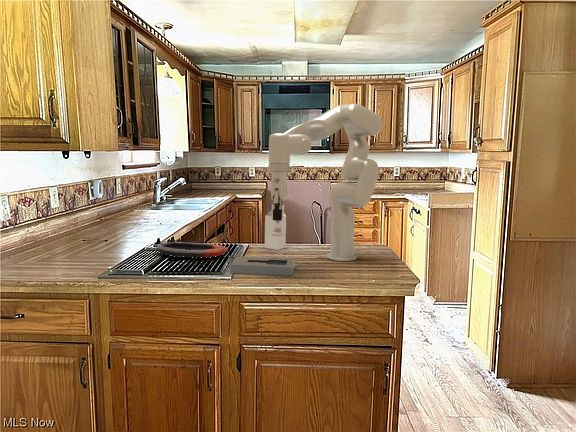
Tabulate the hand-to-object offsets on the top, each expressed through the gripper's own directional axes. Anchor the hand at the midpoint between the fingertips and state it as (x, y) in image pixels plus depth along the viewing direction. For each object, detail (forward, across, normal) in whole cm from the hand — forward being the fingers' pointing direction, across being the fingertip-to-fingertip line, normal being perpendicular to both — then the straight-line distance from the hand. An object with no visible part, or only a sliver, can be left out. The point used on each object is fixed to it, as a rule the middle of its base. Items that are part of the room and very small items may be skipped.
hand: (278, 218), depth 156 cm
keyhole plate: (+19, 0, +5) cm, 20 cm away
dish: (+20, +17, +38) cm, 46 cm away
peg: (+6, 0, 0) cm, 6 cm away
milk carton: (+19, +39, +6) cm, 44 cm away
